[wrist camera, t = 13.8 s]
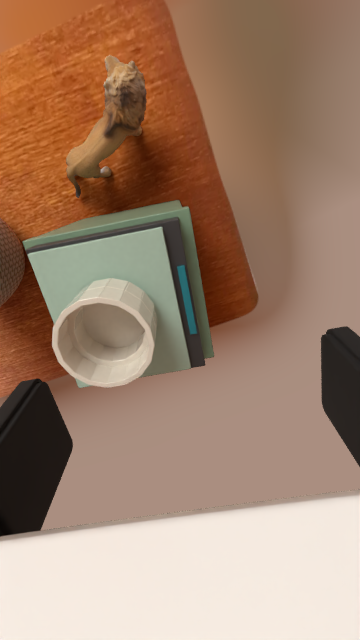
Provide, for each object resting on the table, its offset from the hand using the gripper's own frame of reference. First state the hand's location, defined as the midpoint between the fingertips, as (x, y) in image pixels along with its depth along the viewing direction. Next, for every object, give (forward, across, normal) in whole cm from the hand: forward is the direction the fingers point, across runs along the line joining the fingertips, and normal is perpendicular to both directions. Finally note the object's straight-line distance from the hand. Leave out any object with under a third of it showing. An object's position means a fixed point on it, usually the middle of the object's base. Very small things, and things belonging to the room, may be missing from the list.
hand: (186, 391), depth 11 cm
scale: (+18, +6, +3) cm, 19 cm away
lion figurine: (+35, +6, -12) cm, 38 cm away
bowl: (+15, +6, +3) cm, 16 cm away
